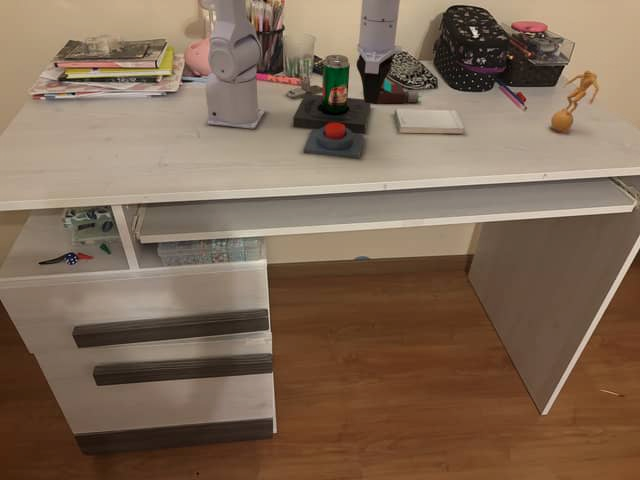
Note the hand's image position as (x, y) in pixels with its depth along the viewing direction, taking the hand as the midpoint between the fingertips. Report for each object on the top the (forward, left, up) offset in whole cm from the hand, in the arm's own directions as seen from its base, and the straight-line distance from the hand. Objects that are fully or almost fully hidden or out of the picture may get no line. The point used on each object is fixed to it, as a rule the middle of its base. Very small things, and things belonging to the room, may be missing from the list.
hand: (371, 100), depth 88 cm
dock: (-8, +12, -9) cm, 17 cm away
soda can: (-8, +12, -10) cm, 17 cm away
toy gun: (+3, +26, -10) cm, 28 cm away
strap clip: (-16, +23, -10) cm, 30 cm away
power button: (-6, 0, -7) cm, 9 cm away
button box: (-6, 0, -9) cm, 11 cm away
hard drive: (+11, +13, -10) cm, 20 cm away
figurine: (+38, +17, -10) cm, 43 cm away
